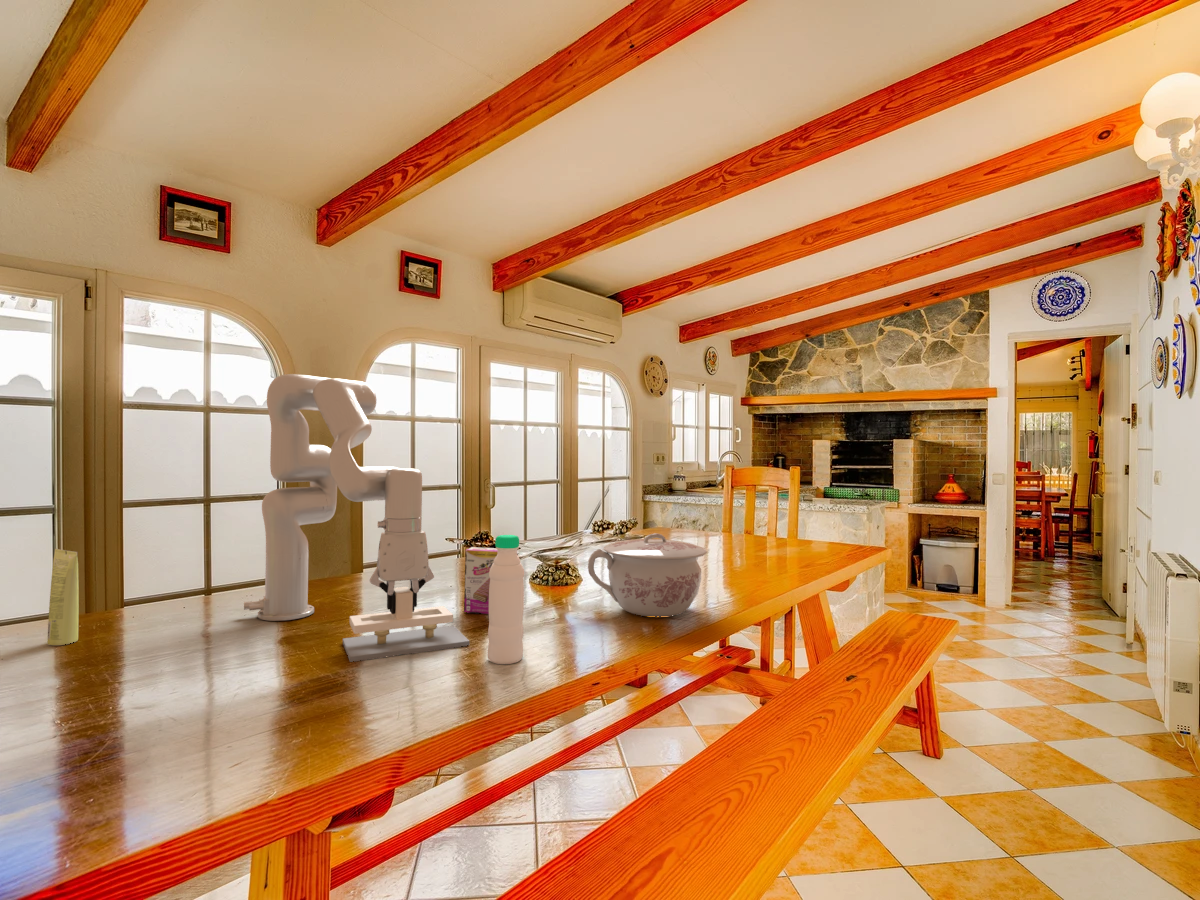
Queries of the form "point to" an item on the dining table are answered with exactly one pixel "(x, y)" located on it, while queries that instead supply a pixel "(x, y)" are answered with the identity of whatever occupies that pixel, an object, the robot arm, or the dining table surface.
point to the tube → (64, 599)
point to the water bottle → (506, 603)
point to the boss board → (403, 642)
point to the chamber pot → (651, 574)
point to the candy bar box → (478, 579)
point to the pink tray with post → (400, 615)
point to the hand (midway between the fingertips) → (401, 610)
